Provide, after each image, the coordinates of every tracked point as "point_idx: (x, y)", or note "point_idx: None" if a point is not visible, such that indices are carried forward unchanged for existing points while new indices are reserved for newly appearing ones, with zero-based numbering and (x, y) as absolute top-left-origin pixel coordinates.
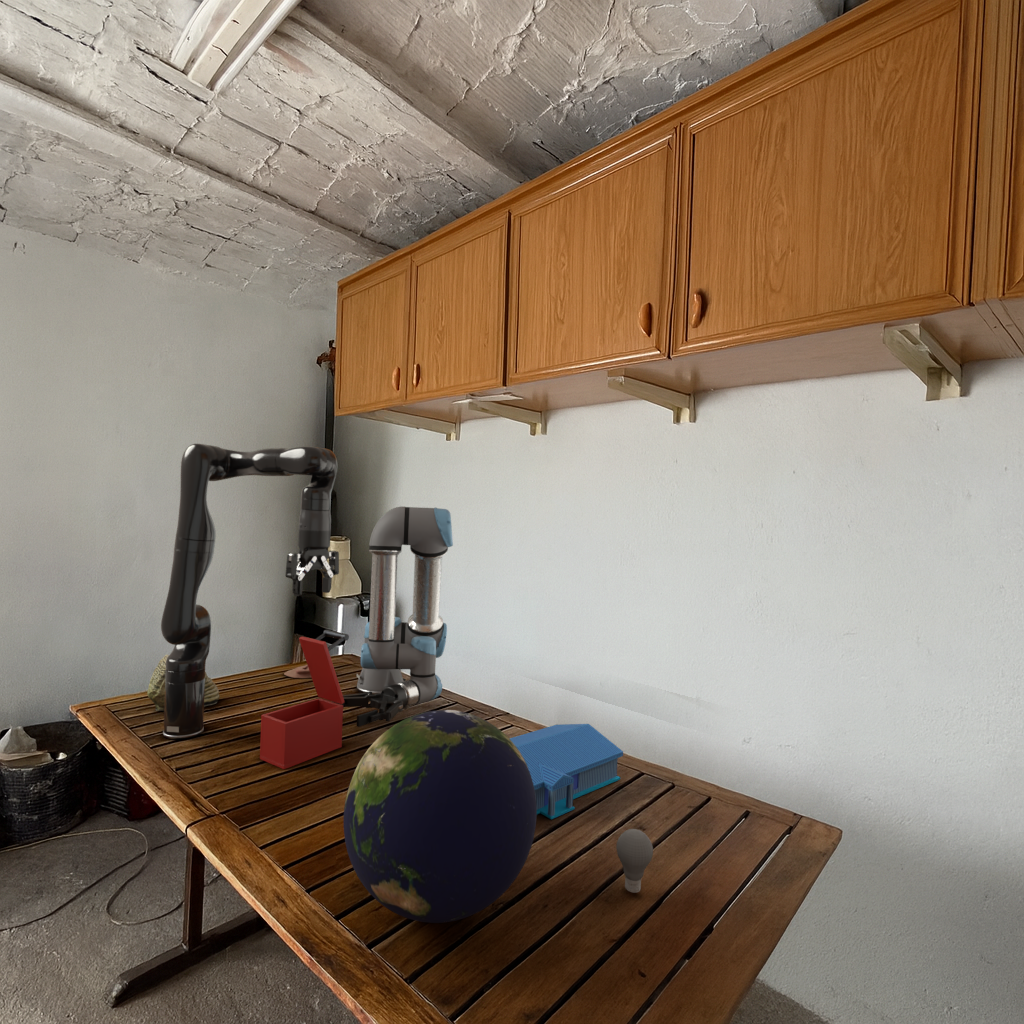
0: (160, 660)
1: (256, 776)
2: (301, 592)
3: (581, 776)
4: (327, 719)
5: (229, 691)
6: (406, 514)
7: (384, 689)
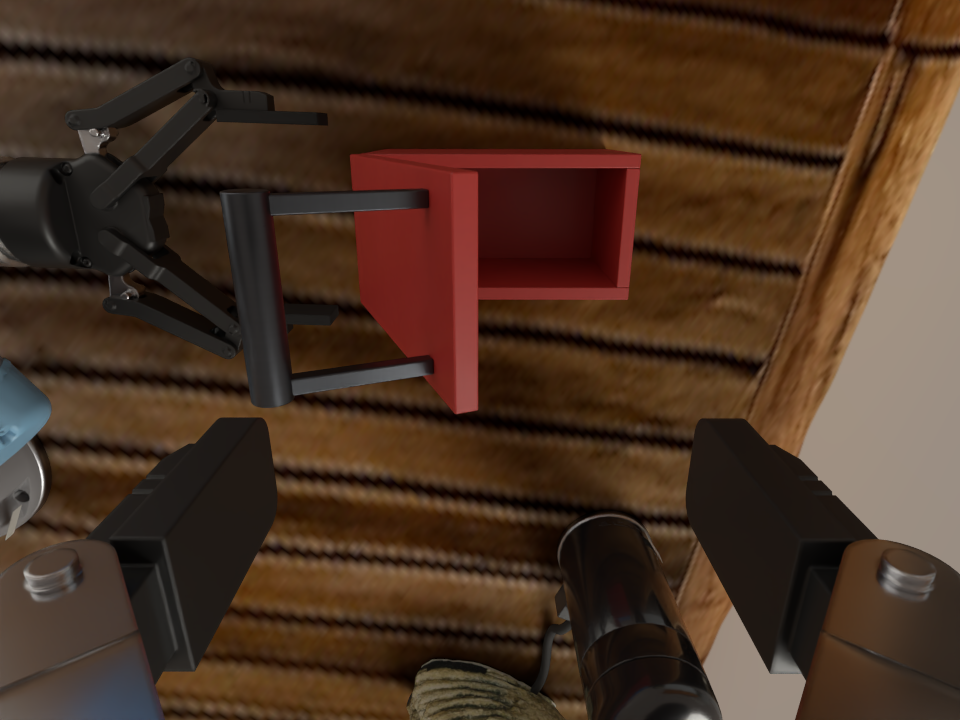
0: None
1: (681, 171)
2: (726, 432)
3: None
4: (443, 152)
5: (348, 712)
6: None
7: (64, 250)
